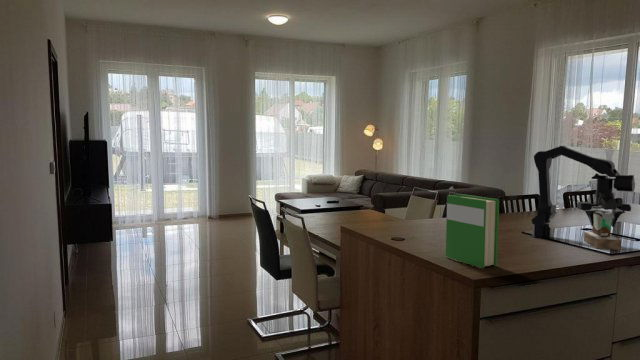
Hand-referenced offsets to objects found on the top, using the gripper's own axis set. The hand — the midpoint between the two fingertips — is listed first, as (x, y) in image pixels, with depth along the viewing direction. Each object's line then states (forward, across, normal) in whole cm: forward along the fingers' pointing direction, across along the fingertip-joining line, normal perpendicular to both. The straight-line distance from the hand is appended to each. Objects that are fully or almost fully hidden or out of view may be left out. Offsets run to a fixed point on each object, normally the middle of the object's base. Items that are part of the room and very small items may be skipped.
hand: (602, 226), depth 191 cm
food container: (+4, +1, +1) cm, 4 cm away
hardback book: (+8, -57, -40) cm, 70 cm away
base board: (+8, 0, 0) cm, 8 cm away
